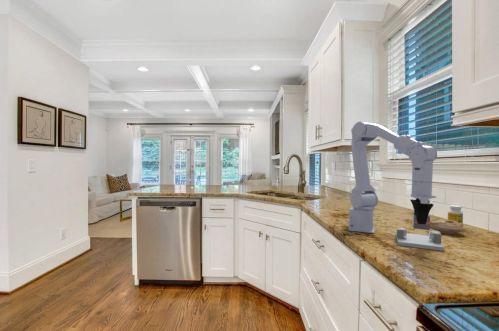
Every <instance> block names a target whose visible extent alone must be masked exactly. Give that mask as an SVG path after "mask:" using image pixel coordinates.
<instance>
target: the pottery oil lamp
mask: <svg viewBox="0 0 499 331" xmlns="http://www.w3.org/2000/svg"><path fill="white" fill-rule="evenodd" d="M465 229H466V228H465V227H464V223H463V224H462V223H458V222H456V221H453V220H448V219H447V220H435V221H430V230H432V231H439V232H440V233H441V234H445V235H455V234H458V233H461V232H462V231H464V230H465Z"/></svg>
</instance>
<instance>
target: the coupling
mask: <svg viewBox="0 0 499 331" xmlns="http://www.w3.org/2000/svg"><path fill="white" fill-rule="evenodd" d="M411 216H412V218H411V227H412V228H413V229H415V230H422V231H423V230H424V231H431V229H430V222H431V216H430V215H429V214H428V218H427V222H426V224H418V222H417V216H416V213H414V212H412V215H411Z"/></svg>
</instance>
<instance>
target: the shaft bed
mask: <svg viewBox="0 0 499 331" xmlns="http://www.w3.org/2000/svg"><path fill="white" fill-rule="evenodd" d="M395 238H396V242H397V245H398V246H403V247H410V248H419V249H425V250H426V249H427V250H432V251H441V252H444V251H445V246H444V245H443V244H442V232H441V231H437V230H428V235H426V234H415V233H408V230H407V228H405V227H399V226H396V231H395Z"/></svg>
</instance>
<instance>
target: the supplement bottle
mask: <svg viewBox="0 0 499 331" xmlns="http://www.w3.org/2000/svg"><path fill="white" fill-rule="evenodd" d="M447 220H453V221H456V222H458V223H462V224H463V225H464V213H463V211H462V206H460V205H456V204H455V205H453V204H450V205H449V209H448V211H447Z"/></svg>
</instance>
